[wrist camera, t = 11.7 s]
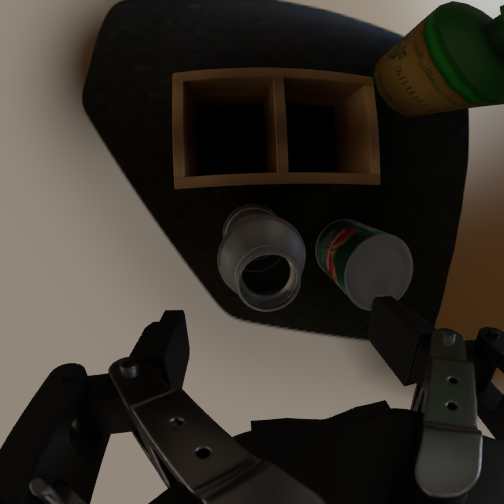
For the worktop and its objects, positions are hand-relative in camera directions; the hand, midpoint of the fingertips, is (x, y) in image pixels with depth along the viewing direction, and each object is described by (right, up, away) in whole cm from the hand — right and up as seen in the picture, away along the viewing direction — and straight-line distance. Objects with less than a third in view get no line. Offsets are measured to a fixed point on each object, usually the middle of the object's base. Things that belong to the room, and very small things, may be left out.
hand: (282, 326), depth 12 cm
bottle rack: (+1, +17, +22) cm, 27 cm away
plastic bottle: (-1, +6, +24) cm, 25 cm away
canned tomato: (+11, +3, +25) cm, 28 cm away
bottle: (+18, +25, +21) cm, 37 cm away
